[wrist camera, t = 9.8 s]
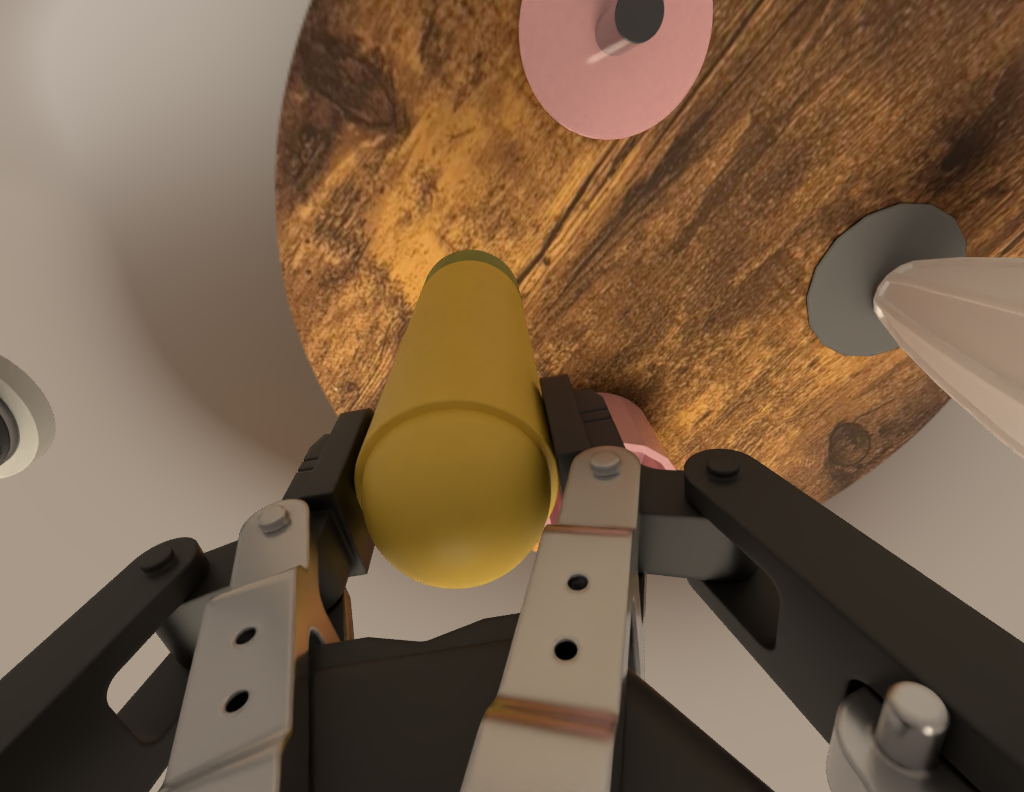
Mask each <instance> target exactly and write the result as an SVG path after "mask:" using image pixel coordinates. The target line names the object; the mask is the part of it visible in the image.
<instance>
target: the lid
mask: <svg viewBox="0 0 1024 792" xmlns="http://www.w3.org/2000/svg"><path fill="white" fill-rule="evenodd" d="M712 23H713V0H522V3H521V7H520V14H519V24H518V42H519V50H520V57H521V62H522V66H523V70H524V73H525V76H526V79H527V82H528V84H529V86H530V88H531V90H532V92H533V94H534V96H535V98H536V99H537V101H538V102H539V104H540V105H541V107H542V108H543V109H544V110H545V111H546V112H547V113H548V115H549V116H550V117H551V118H553V119H554V120H555V121H556V122H557V123H558V124H560V125H561V126H563V127H564V128H566V129H567V130H569V131H571V132H573V133H576V134H578V135H580V136H584V137H587V138H592V139H600V140H616V139H622V138H627V137H630V136H633V135H637V134H639V133H641V132H643V131H646V130H648V129H650V128H651V127H653V126H654V125H656V124H657V123H659V122H660V121H662V120H663V119H664V118H665V117H666V116H668V115H669V114H670V113H671V112H672V111H673V110H674V109H675V108H676V107H677V106H678V105H679V104H680V102H681V101H682V100H683V98H684V97H685V96H686V95H687V93H688V92H689V90H690V88H691V87H692V85H693V84H694V82H695V80H696V78H697V76H698V74H699V72H700V70H701V68H702V65H703V62H704V59H705V57H706V54H707V50H708V46H709V42H710V38H711V30H712Z"/></svg>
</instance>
